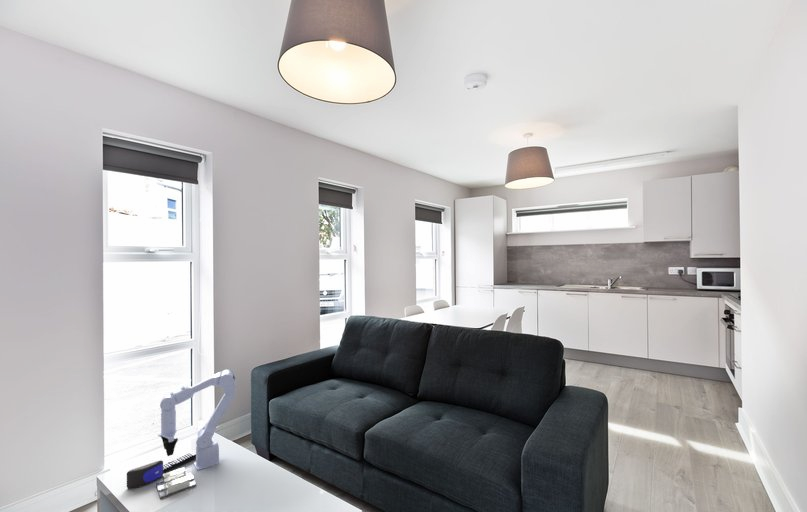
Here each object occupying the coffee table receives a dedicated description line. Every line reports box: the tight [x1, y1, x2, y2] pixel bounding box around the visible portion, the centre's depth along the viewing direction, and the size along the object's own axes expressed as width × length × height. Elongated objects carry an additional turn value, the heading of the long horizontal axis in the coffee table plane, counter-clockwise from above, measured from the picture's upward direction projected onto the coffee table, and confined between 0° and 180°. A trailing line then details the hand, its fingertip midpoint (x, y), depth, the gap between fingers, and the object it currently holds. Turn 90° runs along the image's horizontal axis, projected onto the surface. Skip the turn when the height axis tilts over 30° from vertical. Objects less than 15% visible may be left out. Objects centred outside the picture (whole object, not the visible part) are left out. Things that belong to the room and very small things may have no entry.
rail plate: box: [155, 466, 197, 500], centre depth 159 cm, size 13×12×5 cm
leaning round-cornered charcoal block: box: [126, 459, 164, 490], centre depth 162 cm, size 13×4×8 cm, turn 134°
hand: (168, 451), depth 170 cm, fingers open, 7 cm apart
